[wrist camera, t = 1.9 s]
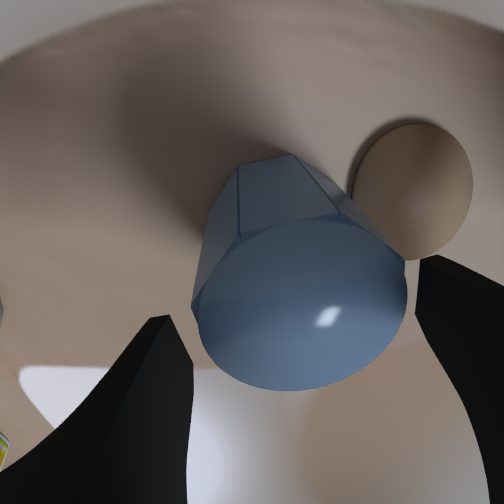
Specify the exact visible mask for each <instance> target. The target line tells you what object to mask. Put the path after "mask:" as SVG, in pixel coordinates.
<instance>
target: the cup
mask: <svg viewBox="0 0 504 504" xmlns="http://www.w3.org/2000/svg"><path fill="white" fill-rule="evenodd" d="M404 271H405V260H404V257H403V256H402V255H401V254H400V253H399V251H398V250H397V249H396V248H395V247H394V246H393V244H392V243H391V242H390V241H389V240H388V239H387V238H386V236H385V235H384V234H383V233H382V232H381V231H380V230H379V229H378V228H377V226H376V225H375V224H374V223H373V222H372V221H371V220H370V219H369V218H368V217H367V216H366V214H365V213H364V212H363V211H362V210H361V209H360V208H359V207H358V206H357V205H356V204H355V203H354V202H353V201H352V200H351V199H350V198H349V196H348V195H347V194H346V193H345V192H344V191H343V190H342V189H341V188H340V187H339V186H338V185H337V184H336V183H334V182H333V181H332V180H330V179H329V178H327V177H326V176H324V175H323V174H322V173H320V172H319V171H317V170H316V169H314V168H313V167H311V166H310V165H309V164H307V163H306V162H304V161H303V160H301V159H300V158H298V157H297V156H295V155H294V156H293V155H287V156H282V157H277V158H272V159H267V160H262V161H258V162H253V163H249V164H244V165H240V166H238V168H237V167H236V169H235V170H234V172H233V173H232V175H231V177H230V178H229V180H228V181H227V183H226V184H225V186H224V188H223V189H222V191H221V192H220V194H219V196H218V197H217V199H216V200H215V202H214V204H213V205H212V207H211V208H210V210H209V214H208V218H207V223H206V228H205V233H204V238H203V243H202V248H201V253H200V258H199V263H198V269H197V274H196V279H195V285H194V290H193V296H192V301H191V309H192V311H193V314H194V316H195V318H196V321H197V323H198V328H199V334H200V338H201V341H202V344H203V346H204V348H205V350H206V352H207V353H208V355H209V356H210V358H211V359H212V360H213V361H214V363H215V364H216V365H217V366H219V367H220V368H221V369H222V370H223V371H224V372H226V373H227V374H229V375H230V376H232V377H233V378H235V379H237V380H239V381H241V382H244V383H246V384H248V385H252V386H255V387H258V388H262V389H268V390H276V391H299V390H308V389H314V388H318V387H322V386H326V385H329V384H332V383H335V382H337V381H340V380H342V379H344V378H346V377H349V376H351V375H352V374H354V373H356V372H357V371H359V370H361V369H362V368H364V367H365V366H366V365H368V364H369V363H370V362H372V361H373V360H374V359H375V358H376V357H378V355H379V354H380V353H381V352H382V351H383V350H384V349H385V348H386V347H387V346H388V344H389V343H390V342H391V341H392V339H393V338H394V336H395V334H396V333H397V331H398V329H399V327H400V325H401V323H402V320H403V317H404V314H405V311H406V305H407V284H406V278H405V275H404Z"/></svg>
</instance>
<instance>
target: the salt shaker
mask: <svg viewBox="0 0 504 504" xmlns="http://www.w3.org/2000/svg"><path fill="white" fill-rule="evenodd" d="M3 312H4V309H3V306H2V302H1V299H0V326H1V321H2V316H3Z"/></svg>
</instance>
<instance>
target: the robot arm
mask: <svg viewBox="0 0 504 504" xmlns="http://www.w3.org/2000/svg"><path fill="white" fill-rule="evenodd" d="M415 315H416V317H417V320H418V322H419V324H420V326H421V329H422V331H423V333H424V335H425V337H426V339H427V341H428V343H429V345H430V346H431V348H432V350H433V352H434V353H435V355H436V357H437V358H438V360H439V362H440V363H441V365H442V367H443V368H444V370H445V372H446V373H447V375H448V377H449V378H450V380H451V382H452V384H453V385H454V387H455V389H456V391H457V392H458V394H459V396H460V398H461V400H462V402H463V404H464V406H465V409H466V411H467V414H468V416H469V419H470V422H471V424H472V427H473V430H474V433H475V436H476V439H477V442H478V446H479V449H480V452H481V456H482V460H483V464H484V469H485V473H486V478H487V484H488V490H489V499H490V504H504V286H503V285H501V284H499V283H497V282H495V281H493V280H491V279H489V278H487V277H485V276H483V275H481V274H479V273H477V272H475V271H473V270H471V269H469V268H467V267H465V266H463V265H461V264H458V263H456V262H454V261H452V260H450V259H447V258H445V257H443V256H440V255H434V256H430V257H426V258H423V259H420V267H419V280H418V290H417V300H416V309H415ZM193 380H194V377H193V362H192V360H191V358H190V356H189V354H188V352H187V350H186V348H185V346H184V344H183V342H182V340H181V338H180V336H179V334H178V332H177V330H176V327H175V325H174V323H173V321H172V319H171V317H170V315H163V316H158V317H152V318H149V319H148V321H147V322H146V323H145V324H144V325H143V327H142V328H141V329H140V330H139V332H138V333H137V334H136V335H135V337H134V338H133V339H132V341H131V342H130V343H129V345H128V346H127V347H126V349H125V350H124V351H123V352H122V354H121V355H120V356H119V358H118V359H117V360H116V362H115V363H114V364H113V365H112V367H111V368H110V369H109V371H108V372H107V373H106V374H105V375H104V377H103V378H102V379H101V380H100V381H99V383H98V384H97V385H96V386H95V388H94V389H93V390H92V391H91V392H90V394H89V395H88V396H87V397H86V398H85V399H84V401H83V402H82V403H81V404H80V405H79V406H78V407H77V408H76V410H75V411H73V412H72V414H70V415H69V417H68V418H67V419H66V420H65V421H64V422H63V423H62V424H61V425H60V426H59V427H58V428H56V429H55V430H54V431H53V432H52V433H51V434H49V435H48V436H47V437H46V438H45V439H44V440H43V441H41V442H40V443H39V444H38V445H37V446H36V447H35V448H33V449H32V450H31V451H30V452H28V453H27V454H26V455H24V456H23V457H22V458H20V459H19V460H18V461H16V462H15V463H13V464H12V465H10V466H9V467H7V468H6V469H4V470H3V471H1V472H0V504H187V486H186V485H187V484H186V464H187V451H188V442H189V441H188V440H189V432H190V423H191V414H192V405H193V395H194V381H193Z"/></svg>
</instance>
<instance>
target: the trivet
mask: <svg viewBox="0 0 504 504" xmlns="http://www.w3.org/2000/svg"><path fill="white" fill-rule="evenodd" d="M472 190H473V178H472V170H471V166H470V162H469V160H468V157H467V155H466V153H465V151H464V149H463V148H462V146H461V145H460V144H459V142H458V141H457V140H456V139H455V138H454V137H453V136H452V135H450V134H449V133H448V132H446V131H444V130H442V129H440V128H438V127H435V126H431V125H428V124H421V123H412V124H406V125H402V126H399V127H396V128H394V129H392V130H390V131H388V132H387V133H386V134H384V135H383V136H381V137H380V138H379V139H378V140H377V141H376V142H375V143H374V144H373V145H372V146H371V147H370V148H369V150H368V151H367V152H366V154H365V156H364V157H363V159H362V161H361V163H360V165H359V167H358V169H357V172H356V175H355V178H354V183H353V187H352V201H353V202H354V203H355V204H356V205H357V206H358V207H359V208H360V209H361V210H362V211H363V212H364V213H365V214H366V216H367V217H368V218H369V219H370V220H371V221H372V222H373V223H374V224H375V225H376V226H377V228H378V229H379V230H380V231H381V232H382V233H383V234H384V235H385V236H386V238H387V239H388V240H389V241H390V242H391V243H392V244H393V246H394V247H395V248H396V249H397V250H398V251H399V253H400V254H401V255H402V256H403V257H404V260H405V261H406V260H415V259H420V258H423V257H426V256H428V255H430V254H432V253H434V252H435V251H437V250H439V249H440V248H441V247H443V246H444V245H445V244H446V243H447V242H448V241H449V240H450V239H451V238H452V237H453V236H454V235H455V234H456V232H457V231H458V229H459V228H460V227H461V225H462V223H463V221H464V219H465V217H466V215H467V212H468V210H469V206H470V203H471V198H472Z"/></svg>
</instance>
